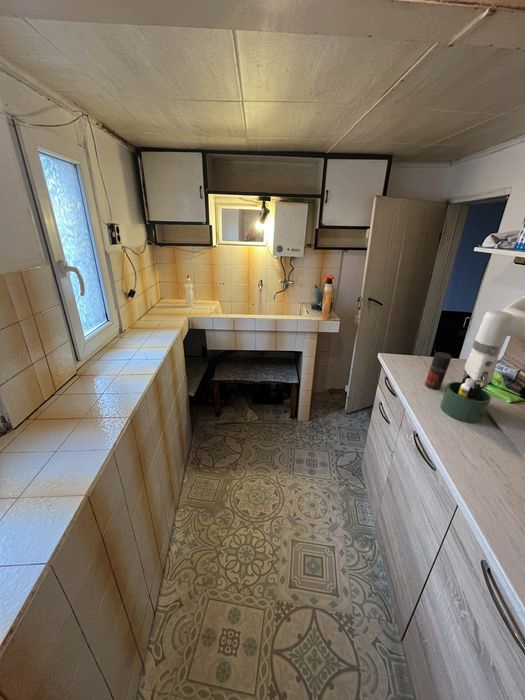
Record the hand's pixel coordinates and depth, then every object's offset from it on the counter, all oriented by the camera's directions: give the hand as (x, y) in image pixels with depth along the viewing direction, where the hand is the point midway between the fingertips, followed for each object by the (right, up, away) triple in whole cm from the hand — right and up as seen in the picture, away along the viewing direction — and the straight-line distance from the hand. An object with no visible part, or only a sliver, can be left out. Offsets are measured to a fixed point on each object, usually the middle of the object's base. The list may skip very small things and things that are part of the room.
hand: (468, 392), depth 102 cm
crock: (0, -8, +4) cm, 9 cm away
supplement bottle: (0, -5, +2) cm, 5 cm away
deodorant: (-1, 0, +20) cm, 20 cm away
